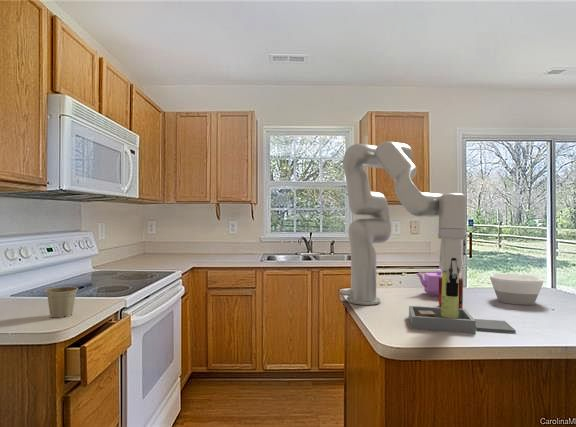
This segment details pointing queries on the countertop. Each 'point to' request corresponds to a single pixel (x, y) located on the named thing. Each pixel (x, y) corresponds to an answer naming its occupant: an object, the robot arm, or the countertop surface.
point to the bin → (441, 320)
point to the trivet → (493, 326)
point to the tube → (449, 300)
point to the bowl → (516, 288)
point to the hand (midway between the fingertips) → (450, 293)
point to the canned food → (459, 291)
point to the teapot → (431, 282)
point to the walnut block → (426, 314)
